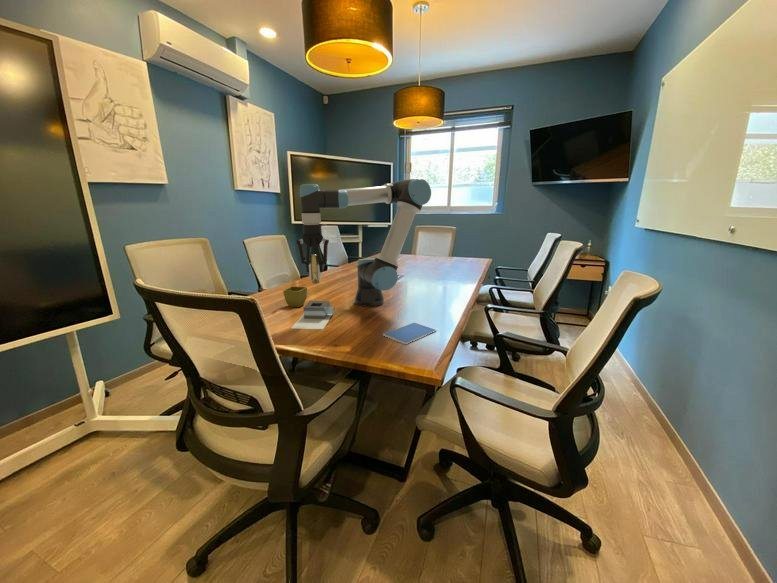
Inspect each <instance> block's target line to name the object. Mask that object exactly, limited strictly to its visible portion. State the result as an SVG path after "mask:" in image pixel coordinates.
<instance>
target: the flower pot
mask: <svg viewBox="0 0 777 583" xmlns="http://www.w3.org/2000/svg"><path fill="white" fill-rule="evenodd" d="M282 292H283V297H284V300H285V302H286V304H287V305H288V306H289V307H291V308H300V307H302V306H303V305H305V302H306V300H307V296H308V286H294V285H293V286H289V287H288V288H285V289H283V290H282Z"/></svg>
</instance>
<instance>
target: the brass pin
mask: <svg viewBox="0 0 777 583" xmlns="http://www.w3.org/2000/svg"><path fill="white" fill-rule="evenodd" d="M310 258H311V259H310V264H311V272H312V280H311V282H312V283H311V284H315V285H316V284H320V280H318V268H317V265H318V264H319V262H318V257H317V254H311V255H310Z"/></svg>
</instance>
